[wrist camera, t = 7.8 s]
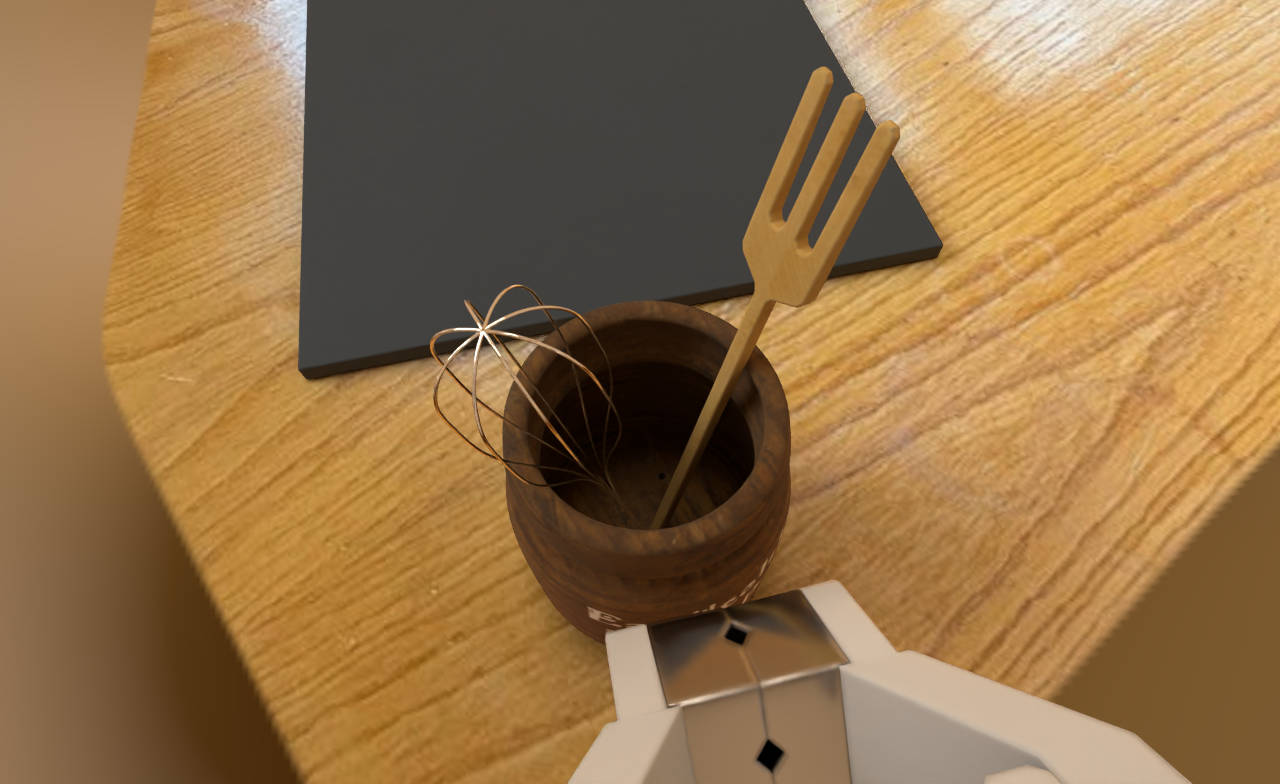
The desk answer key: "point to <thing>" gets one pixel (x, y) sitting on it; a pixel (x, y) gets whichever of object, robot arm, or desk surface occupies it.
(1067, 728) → the robot arm
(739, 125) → the desk mat
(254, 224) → the desk surface
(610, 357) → the utensil holder
